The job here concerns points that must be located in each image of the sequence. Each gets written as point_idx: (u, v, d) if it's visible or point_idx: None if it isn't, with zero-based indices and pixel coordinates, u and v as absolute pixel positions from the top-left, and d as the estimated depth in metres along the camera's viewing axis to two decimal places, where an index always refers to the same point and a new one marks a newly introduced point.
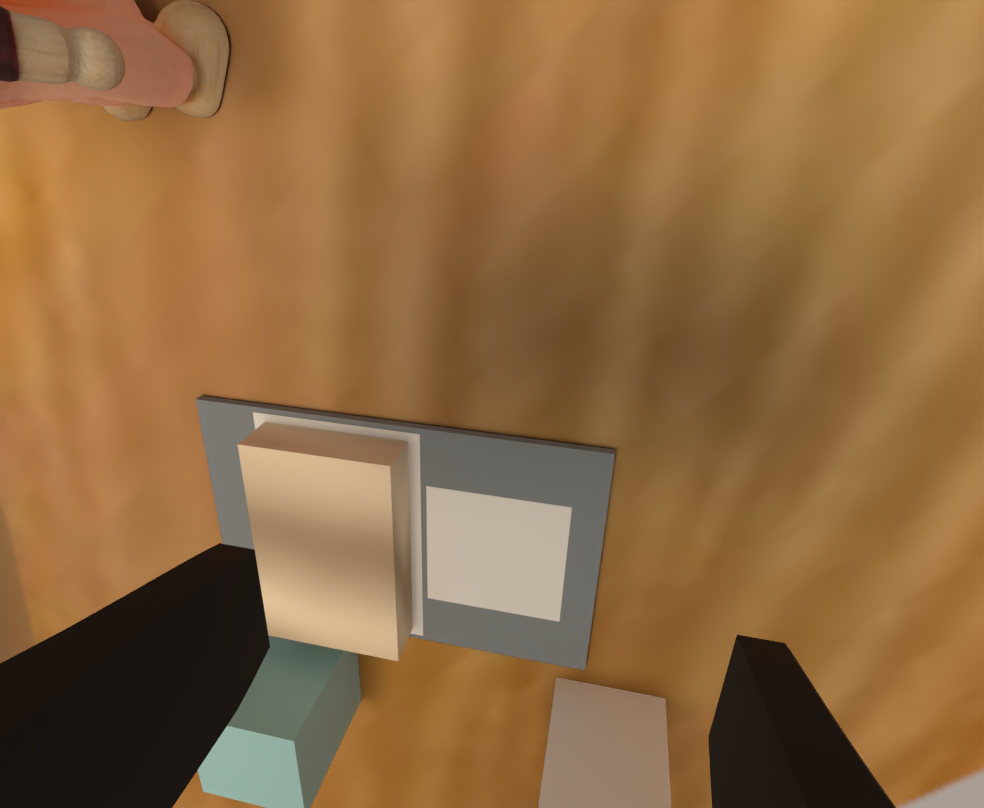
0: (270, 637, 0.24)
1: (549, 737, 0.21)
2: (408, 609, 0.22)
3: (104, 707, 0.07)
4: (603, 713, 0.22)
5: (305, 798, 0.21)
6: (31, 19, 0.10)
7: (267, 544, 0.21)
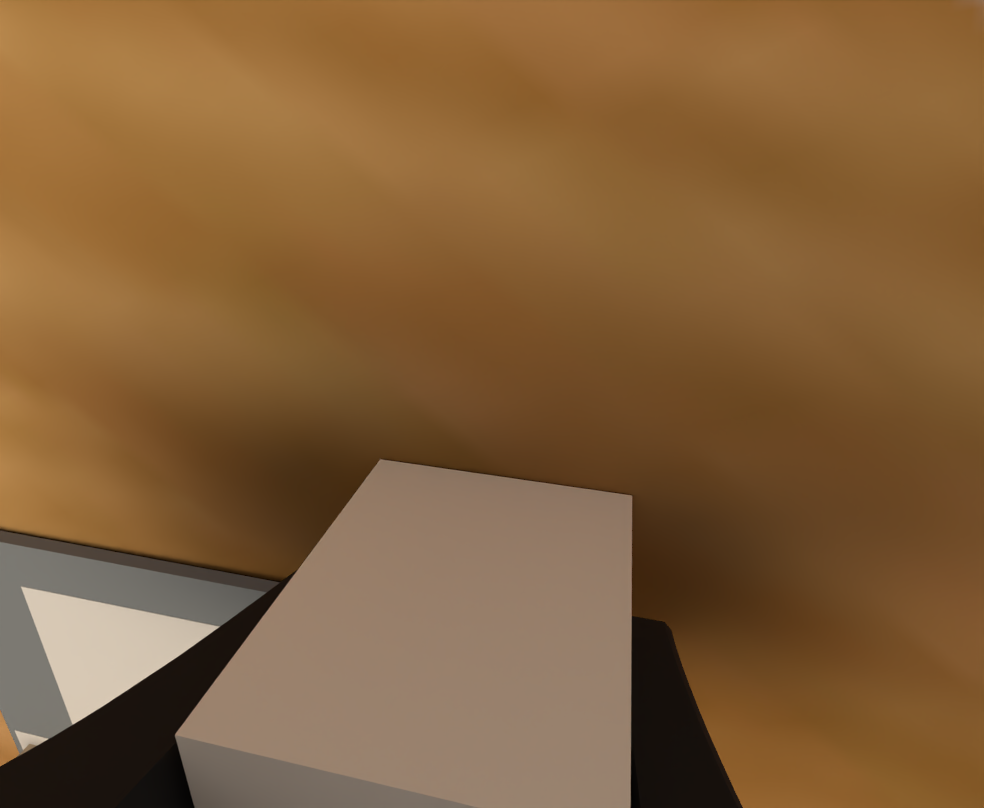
0: None
1: None
2: None
3: None
4: None
5: None
6: None
7: None
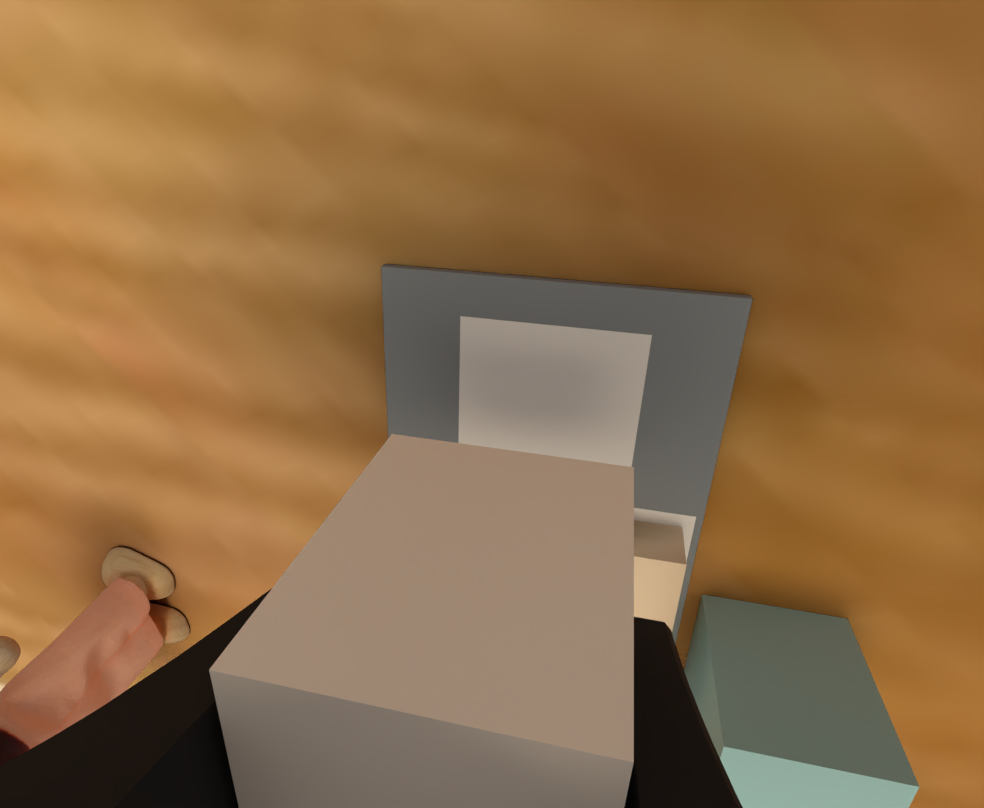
0: None
1: None
2: (635, 528, 0.17)
3: None
4: None
5: (875, 771, 0.13)
6: None
7: None
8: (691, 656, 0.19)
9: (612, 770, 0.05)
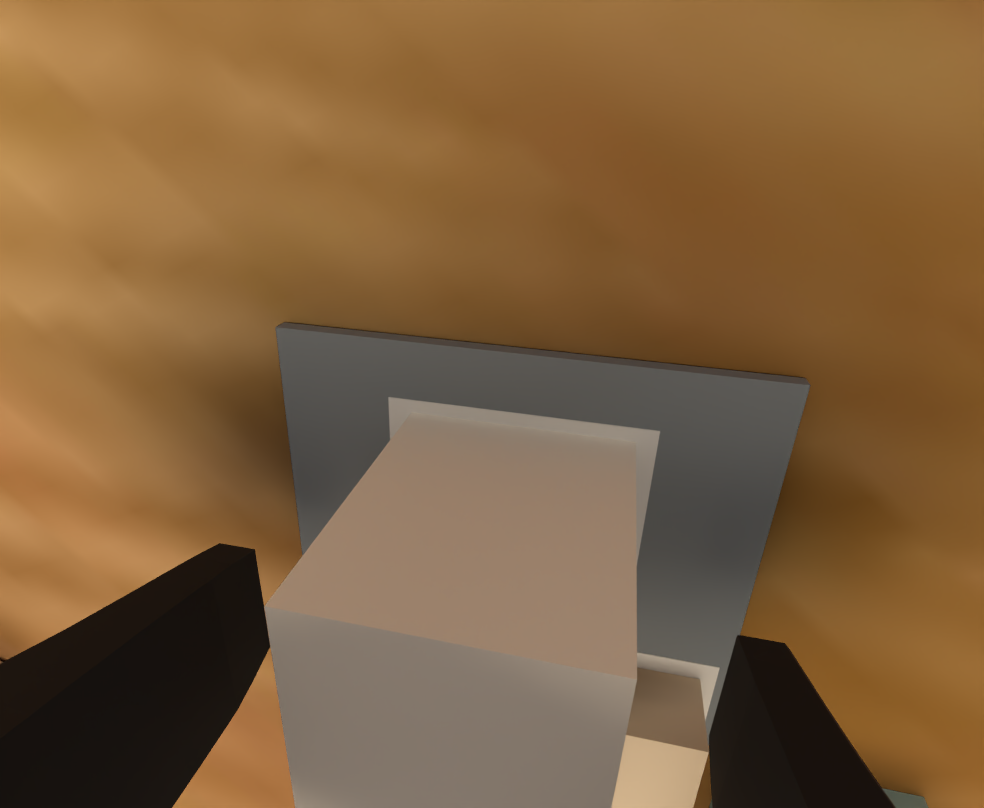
0: None
1: None
2: None
3: (104, 708, 0.07)
4: None
5: None
6: None
7: None
8: None
9: (618, 687, 0.06)
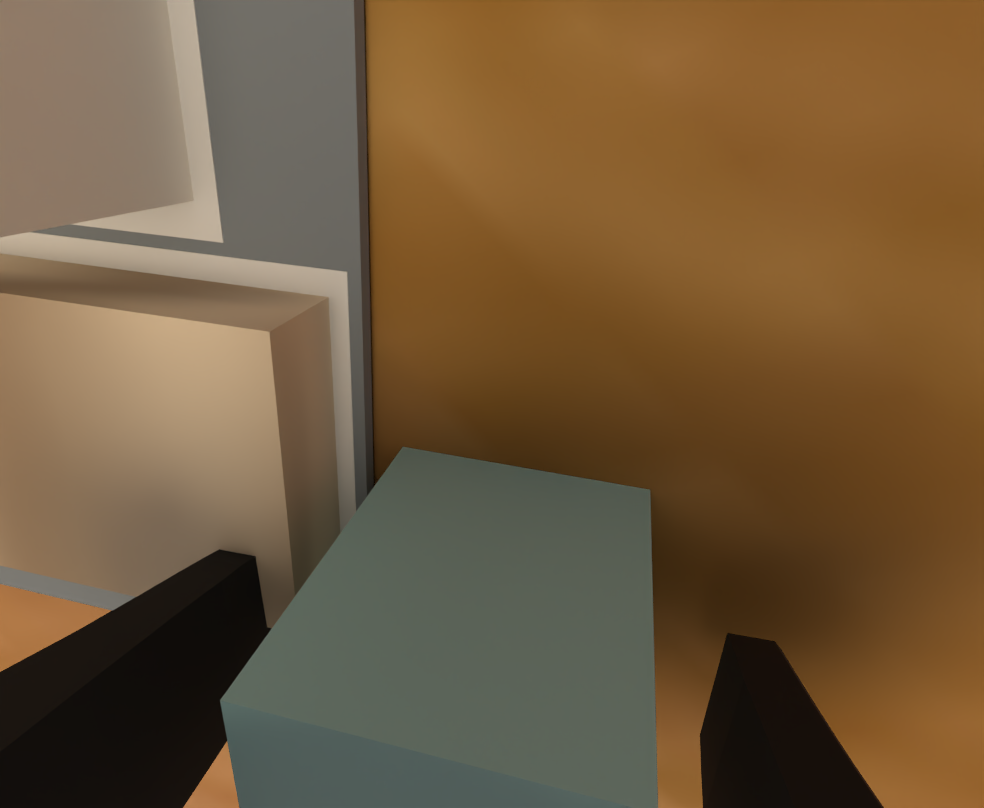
0: None
1: None
2: (232, 293, 0.09)
3: (115, 710, 0.07)
4: None
5: (564, 770, 0.05)
6: None
7: (56, 555, 0.10)
8: None
9: None
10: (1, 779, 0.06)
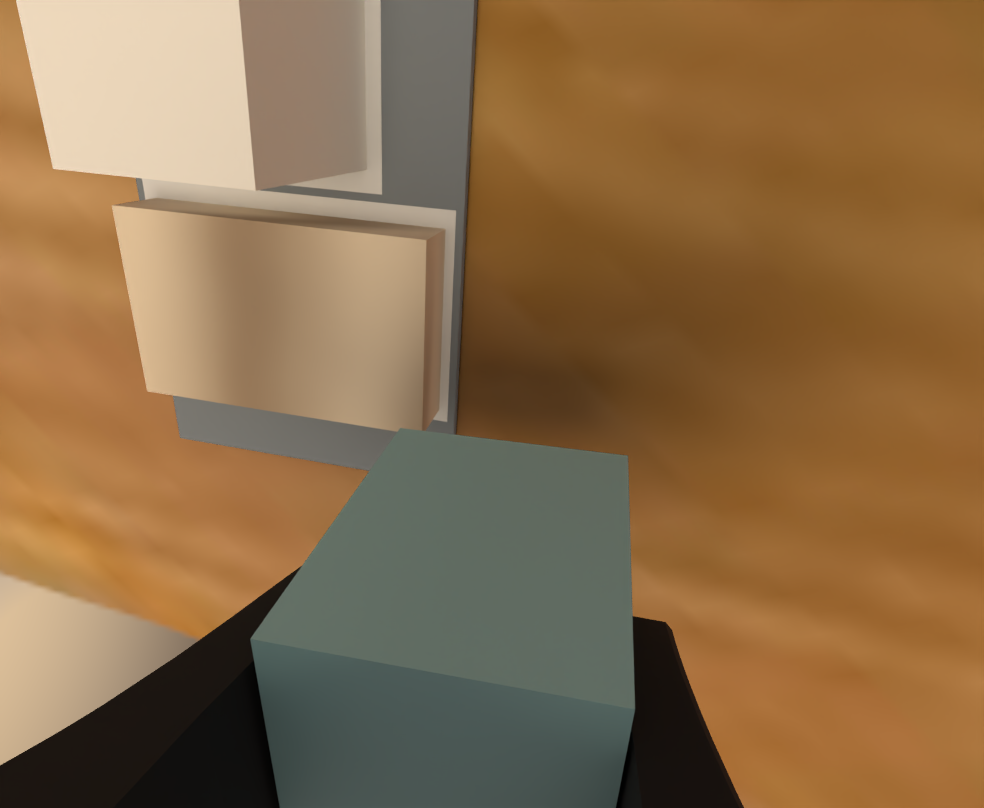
0: None
1: None
2: (391, 226, 0.15)
3: (226, 736, 0.07)
4: None
5: (553, 680, 0.06)
6: None
7: (269, 393, 0.16)
8: None
9: None
10: None
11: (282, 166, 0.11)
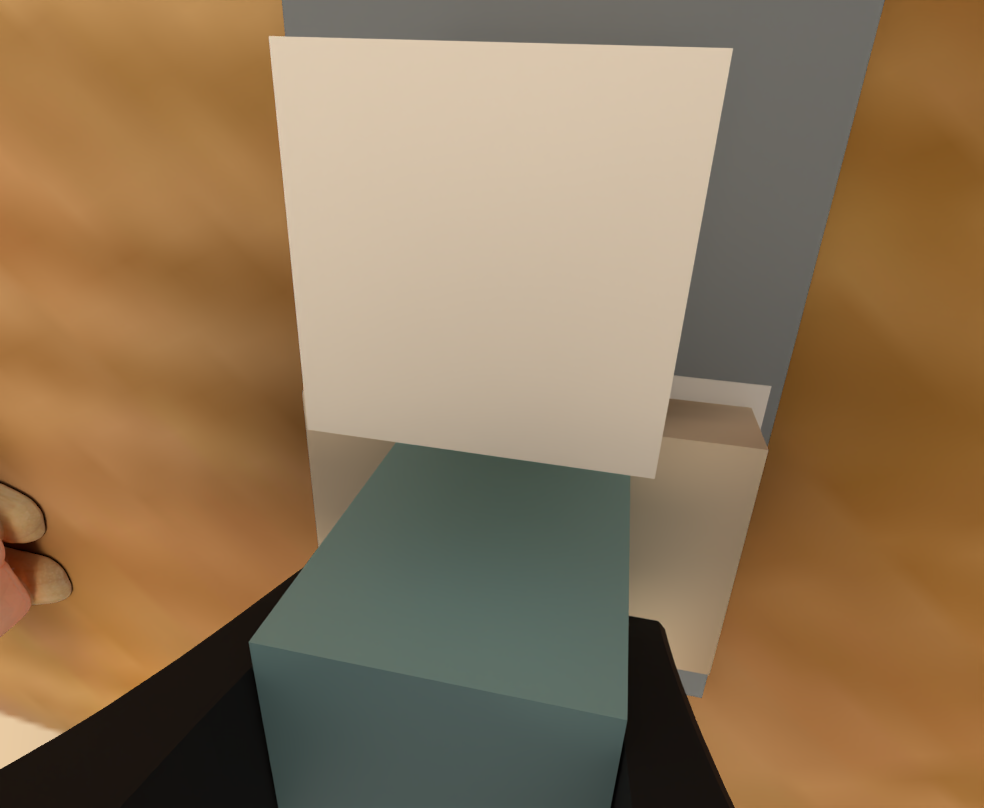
0: None
1: None
2: (680, 408, 0.11)
3: (230, 737, 0.07)
4: None
5: (547, 689, 0.06)
6: None
7: None
8: None
9: (708, 72, 0.05)
10: None
11: None
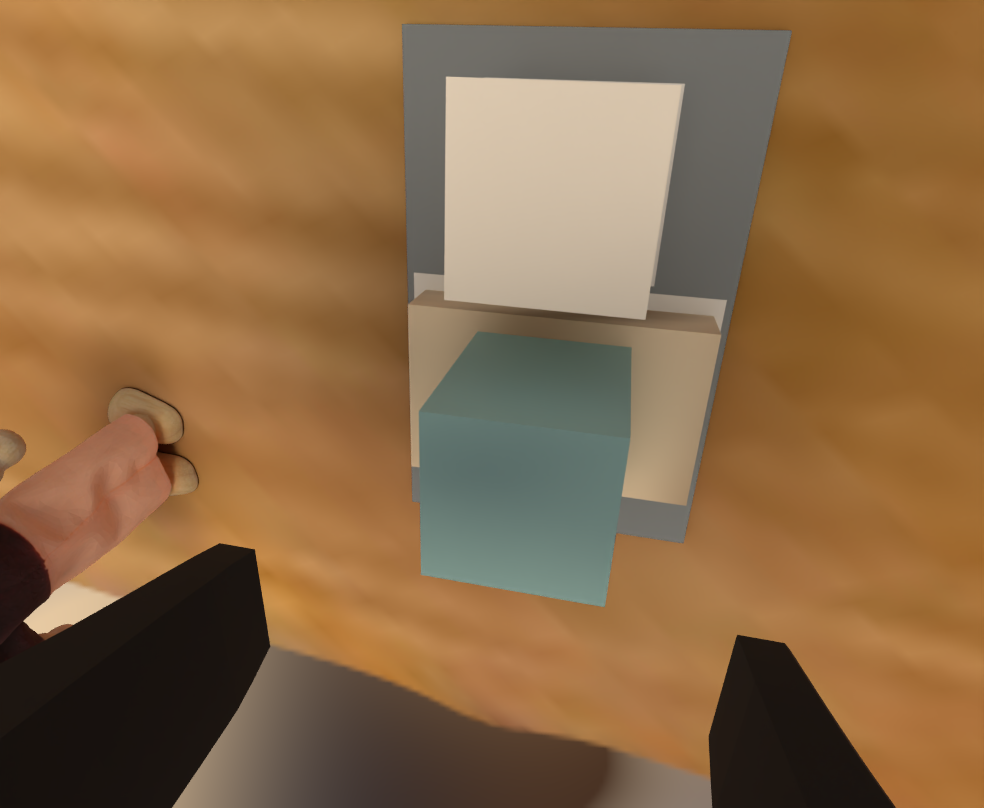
0: None
1: None
2: (665, 315, 0.16)
3: (105, 708, 0.07)
4: None
5: (586, 429, 0.11)
6: None
7: None
8: None
9: (670, 96, 0.10)
10: None
11: None
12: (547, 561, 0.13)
